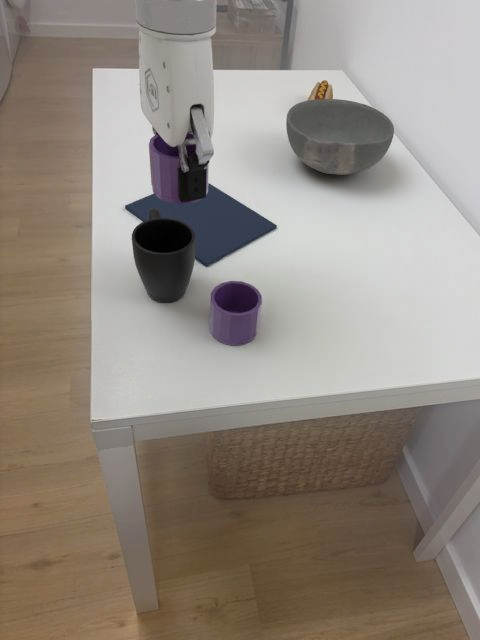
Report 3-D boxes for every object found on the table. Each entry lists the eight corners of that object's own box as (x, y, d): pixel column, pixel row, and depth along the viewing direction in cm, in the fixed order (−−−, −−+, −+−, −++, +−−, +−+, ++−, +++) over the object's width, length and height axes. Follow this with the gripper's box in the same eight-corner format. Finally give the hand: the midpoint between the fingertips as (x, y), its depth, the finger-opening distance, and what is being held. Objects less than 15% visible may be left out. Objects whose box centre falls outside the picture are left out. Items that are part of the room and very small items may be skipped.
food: (310, 97, 126) (313, 75, 123) (333, 101, 126) (337, 79, 122) (302, 121, 117) (305, 98, 113) (326, 126, 117) (330, 103, 113)
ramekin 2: (199, 326, 71) (199, 295, 67) (234, 304, 75) (236, 274, 71) (233, 353, 69) (236, 323, 65) (267, 329, 72) (272, 299, 68)
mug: (185, 253, 82) (184, 199, 75) (200, 305, 74) (201, 251, 67) (131, 258, 80) (124, 203, 73) (141, 313, 72) (135, 257, 65)
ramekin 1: (140, 185, 63) (137, 140, 58) (183, 168, 66) (183, 125, 62) (176, 210, 60) (175, 165, 56) (219, 191, 63) (221, 147, 59)
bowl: (386, 155, 110) (400, 106, 103) (375, 204, 97) (390, 153, 89) (293, 134, 112) (300, 86, 105) (269, 180, 99) (275, 128, 91)
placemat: (125, 208, 88) (124, 205, 88) (196, 178, 97) (196, 175, 96) (206, 267, 80) (206, 263, 80) (276, 228, 89) (276, 225, 88)
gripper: (108, -16, 53) (125, 152, 66) (172, 46, 43) (177, 229, 56) (179, -18, 55) (182, 144, 69) (253, 40, 46) (240, 216, 59)
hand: (180, 181), depth 62 cm, fingers closed on ramekin 1, 6 cm apart
